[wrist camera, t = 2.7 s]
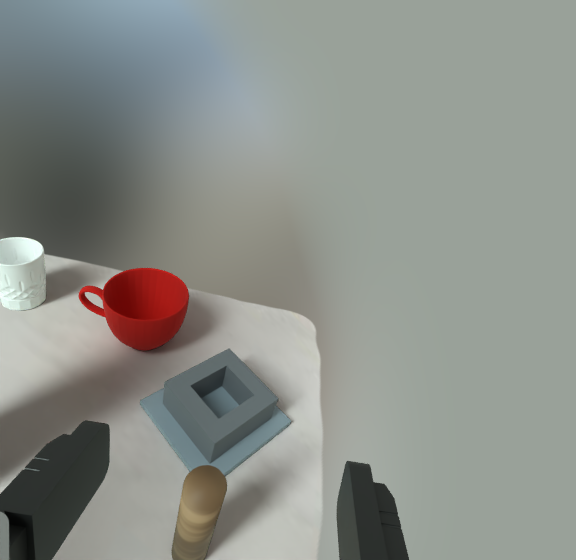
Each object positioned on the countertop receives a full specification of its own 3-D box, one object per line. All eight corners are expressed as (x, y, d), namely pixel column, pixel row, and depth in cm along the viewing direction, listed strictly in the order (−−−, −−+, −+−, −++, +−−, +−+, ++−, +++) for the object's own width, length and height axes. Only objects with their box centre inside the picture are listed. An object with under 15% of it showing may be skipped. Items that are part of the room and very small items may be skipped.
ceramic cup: (96, 301, 71) (94, 256, 66) (190, 317, 74) (195, 275, 68) (65, 354, 61) (58, 307, 55) (174, 371, 64) (179, 327, 58)
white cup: (14, 320, 64) (3, 271, 58) (-15, 296, 66) (-28, 247, 60) (60, 299, 70) (54, 253, 64) (32, 278, 72) (24, 231, 66)
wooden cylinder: (184, 578, 43) (200, 519, 34) (164, 546, 44) (174, 482, 36) (214, 550, 45) (235, 489, 37) (194, 521, 47) (209, 457, 38)
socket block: (205, 492, 50) (210, 468, 47) (140, 404, 57) (141, 378, 54) (289, 424, 61) (299, 401, 57) (226, 358, 68) (231, 334, 65)
